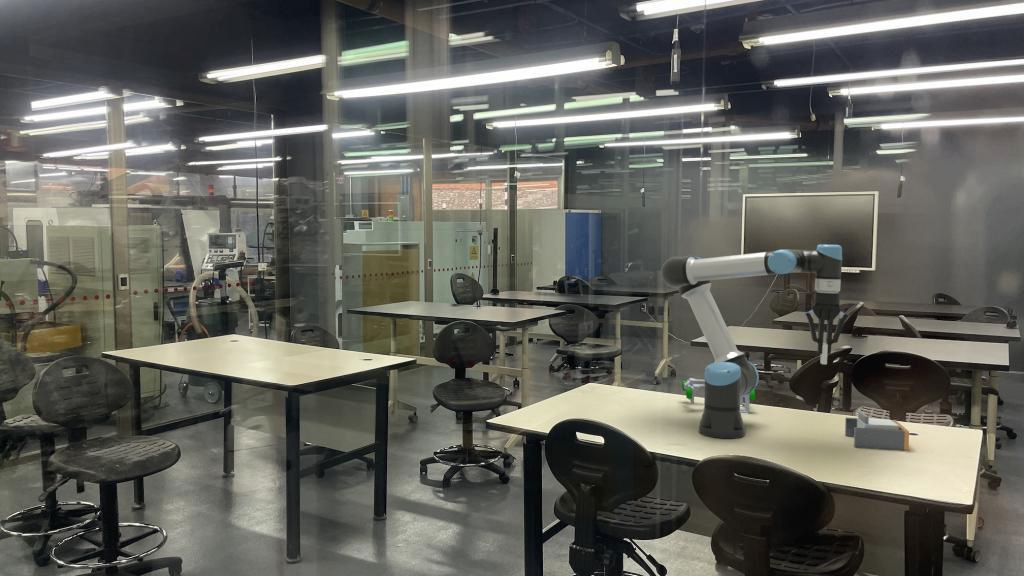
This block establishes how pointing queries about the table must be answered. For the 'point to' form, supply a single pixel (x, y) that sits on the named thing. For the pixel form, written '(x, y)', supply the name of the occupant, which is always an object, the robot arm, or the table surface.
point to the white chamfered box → (875, 422)
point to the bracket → (692, 389)
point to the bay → (877, 436)
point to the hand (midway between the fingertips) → (823, 363)
